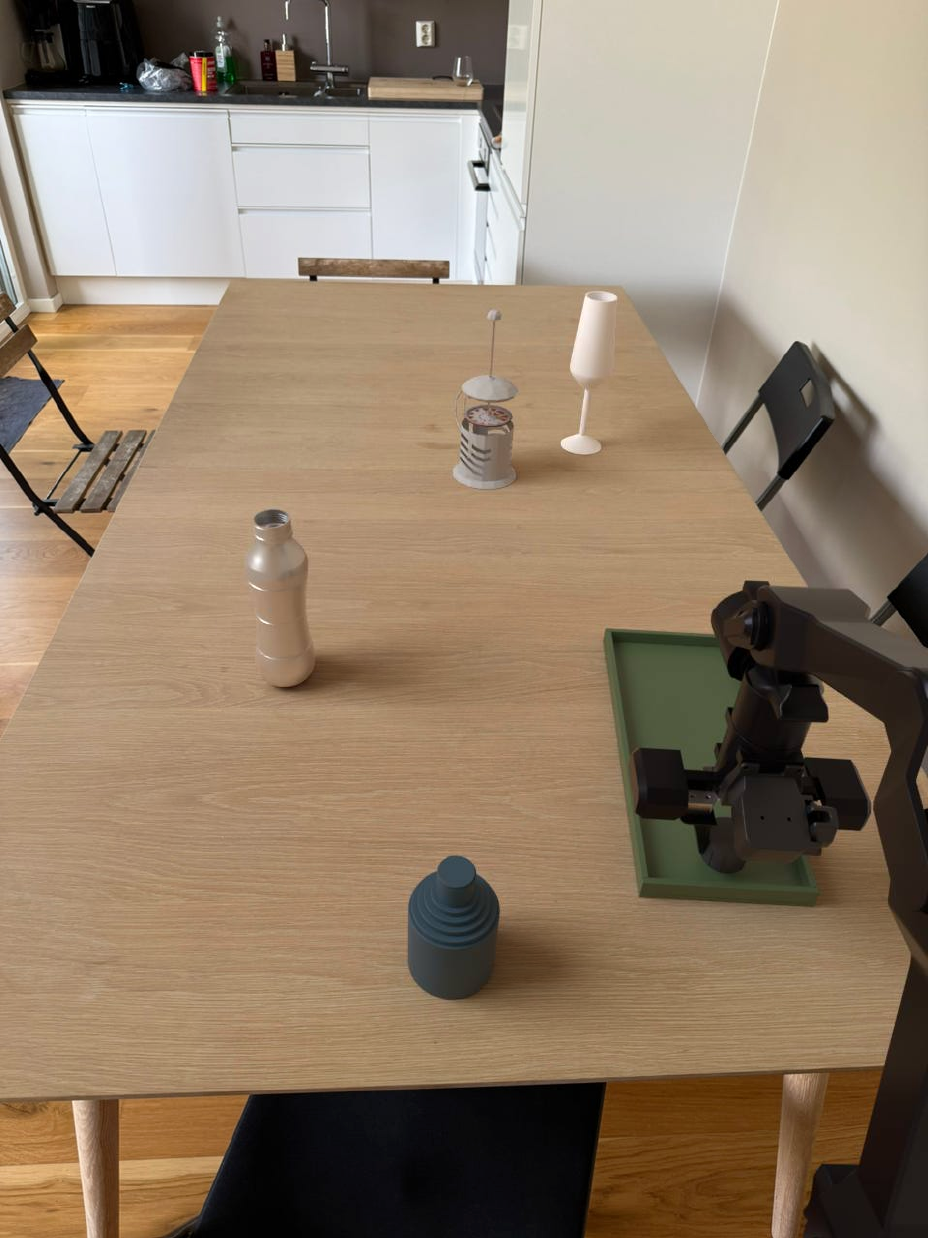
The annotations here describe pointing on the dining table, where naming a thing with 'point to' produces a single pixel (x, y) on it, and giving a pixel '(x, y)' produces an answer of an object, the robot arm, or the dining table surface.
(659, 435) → the dining table surface
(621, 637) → the tray
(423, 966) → the flask
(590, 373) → the champagne flute
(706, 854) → the flask cap
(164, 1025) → the dining table surface
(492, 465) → the french press
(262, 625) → the plastic bottle
